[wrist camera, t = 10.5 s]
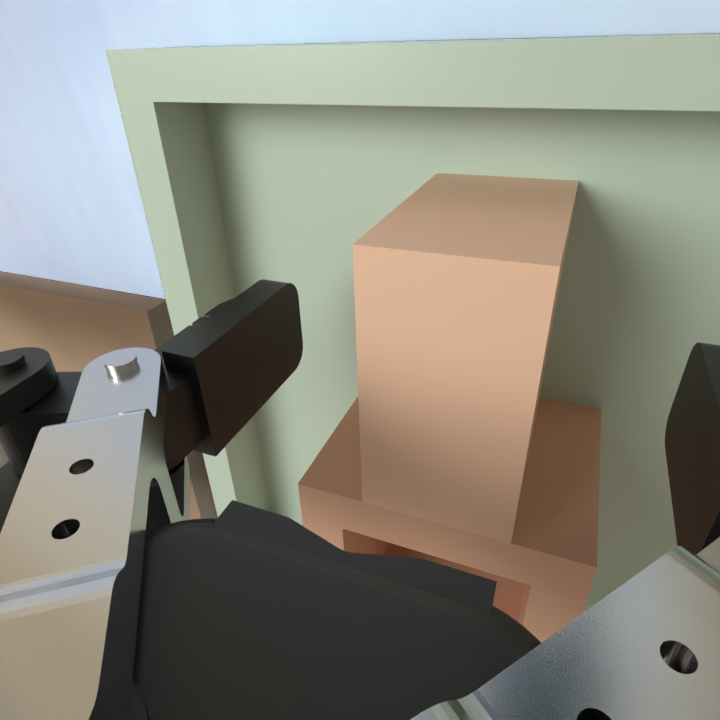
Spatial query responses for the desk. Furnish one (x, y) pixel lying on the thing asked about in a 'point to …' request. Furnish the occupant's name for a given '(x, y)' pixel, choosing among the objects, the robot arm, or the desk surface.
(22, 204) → the desk surface
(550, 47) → the tray
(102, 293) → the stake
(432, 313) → the orange block with hole
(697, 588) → the robot arm
